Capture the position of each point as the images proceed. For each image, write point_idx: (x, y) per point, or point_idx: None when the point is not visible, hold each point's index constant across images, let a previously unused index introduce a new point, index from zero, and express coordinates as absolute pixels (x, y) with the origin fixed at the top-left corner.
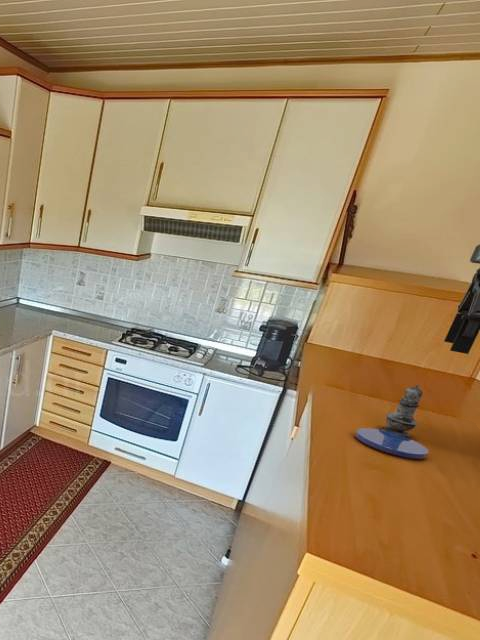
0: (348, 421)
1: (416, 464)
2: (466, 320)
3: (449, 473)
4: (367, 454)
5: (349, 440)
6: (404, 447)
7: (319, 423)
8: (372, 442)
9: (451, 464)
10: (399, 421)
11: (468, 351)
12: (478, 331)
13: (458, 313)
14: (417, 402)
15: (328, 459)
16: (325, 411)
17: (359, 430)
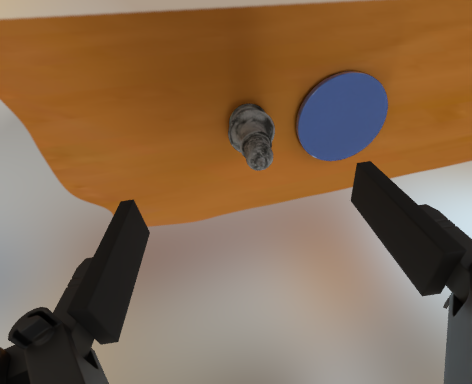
0: (263, 175)
1: (389, 76)
2: (442, 287)
3: (393, 32)
4: (399, 129)
5: (357, 155)
6: (362, 102)
7: (316, 192)
8: (375, 136)
9: (340, 33)
10: (274, 133)
11: (375, 167)
12: (428, 217)
13: (108, 340)
14: (263, 138)
15: (455, 154)
16: (246, 202)
17: (334, 158)
